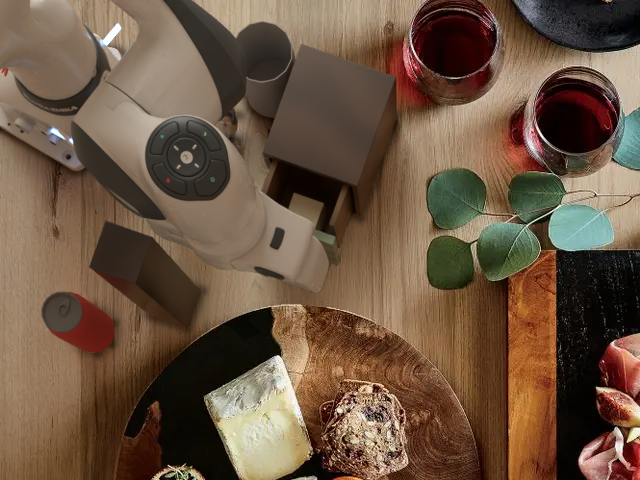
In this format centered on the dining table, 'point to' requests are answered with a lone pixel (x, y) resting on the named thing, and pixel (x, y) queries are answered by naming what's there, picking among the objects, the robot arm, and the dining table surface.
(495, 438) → the dining table surface
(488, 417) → the dining table surface
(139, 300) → the plinth
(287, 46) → the cup
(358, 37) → the dining table surface
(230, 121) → the vase
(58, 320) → the beer can
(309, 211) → the block
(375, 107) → the cabinet
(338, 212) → the drawer
